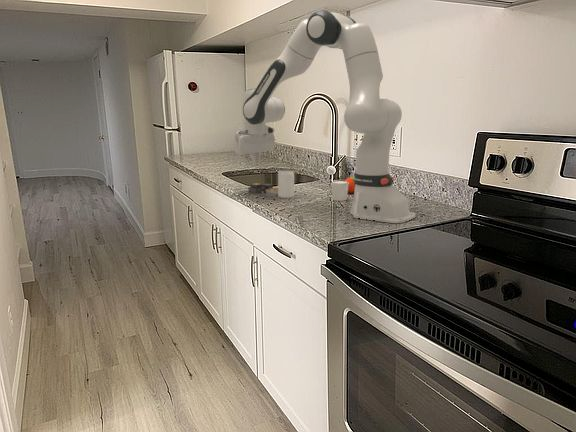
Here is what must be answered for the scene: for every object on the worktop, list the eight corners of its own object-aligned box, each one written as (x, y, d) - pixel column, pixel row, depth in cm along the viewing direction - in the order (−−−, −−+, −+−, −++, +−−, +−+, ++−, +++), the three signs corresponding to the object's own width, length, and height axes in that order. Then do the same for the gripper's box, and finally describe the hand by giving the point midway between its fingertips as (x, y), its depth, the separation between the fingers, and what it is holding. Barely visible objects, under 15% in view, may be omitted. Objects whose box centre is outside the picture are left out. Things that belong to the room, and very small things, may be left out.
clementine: (363, 194, 191) (364, 177, 190) (348, 195, 189) (349, 178, 188) (355, 191, 199) (355, 175, 197) (340, 192, 197) (341, 176, 195)
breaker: (262, 188, 193) (262, 183, 192) (256, 190, 190) (256, 184, 190) (256, 187, 195) (256, 182, 195) (250, 189, 193) (250, 183, 192)
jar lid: (290, 192, 192) (290, 189, 192) (276, 195, 186) (276, 192, 185) (275, 189, 198) (275, 186, 197) (261, 192, 191) (261, 189, 191)
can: (292, 200, 181) (292, 170, 178) (276, 200, 182) (276, 170, 179) (295, 197, 187) (295, 168, 184) (279, 196, 189) (279, 168, 186)
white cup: (349, 198, 185) (349, 181, 183) (347, 201, 179) (347, 184, 177) (332, 197, 187) (333, 180, 185) (329, 200, 181) (329, 183, 179)
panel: (290, 194, 192) (290, 186, 191) (271, 199, 184) (270, 191, 183) (267, 190, 201) (267, 183, 201) (247, 195, 193) (247, 187, 192)
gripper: (241, 131, 177) (242, 166, 181) (277, 128, 192) (277, 161, 195) (230, 130, 181) (231, 165, 185) (266, 128, 196) (267, 160, 199)
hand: (255, 163), depth 190 cm, fingers closed
